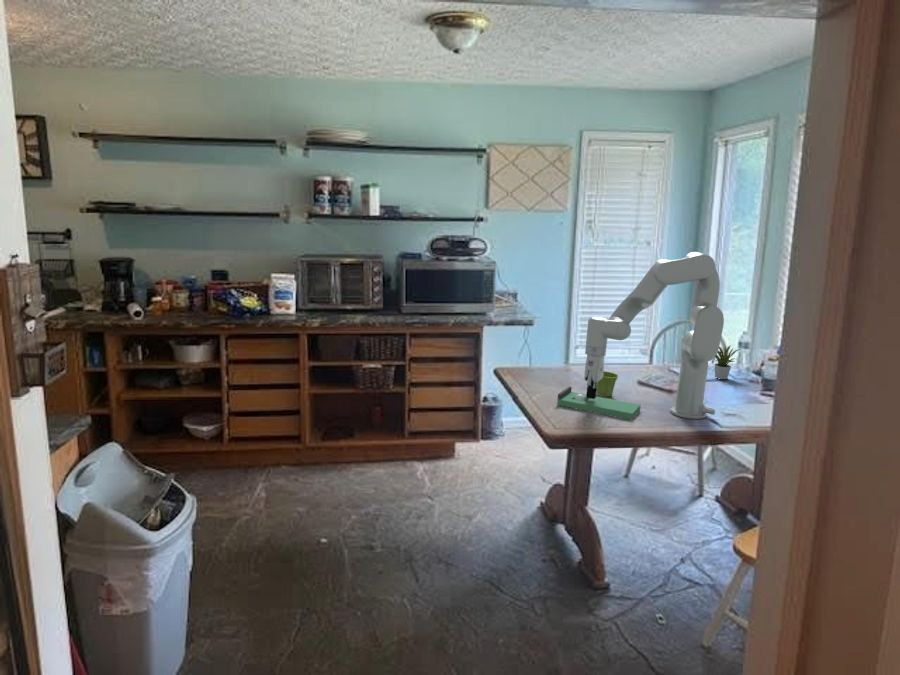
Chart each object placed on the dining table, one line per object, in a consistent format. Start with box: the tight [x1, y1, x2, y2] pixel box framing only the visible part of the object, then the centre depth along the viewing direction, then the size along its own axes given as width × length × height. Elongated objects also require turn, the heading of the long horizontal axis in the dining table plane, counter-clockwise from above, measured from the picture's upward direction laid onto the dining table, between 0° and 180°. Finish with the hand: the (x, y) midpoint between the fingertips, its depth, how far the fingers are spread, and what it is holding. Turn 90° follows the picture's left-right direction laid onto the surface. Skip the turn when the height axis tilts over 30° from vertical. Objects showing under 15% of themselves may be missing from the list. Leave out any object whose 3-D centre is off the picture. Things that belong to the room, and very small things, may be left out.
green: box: [556, 386, 641, 421], centre depth 244 cm, size 28×13×4 cm, turn 61°
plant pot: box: [596, 371, 619, 398], centre depth 262 cm, size 9×9×9 cm
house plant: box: [713, 344, 741, 380], centre depth 298 cm, size 14×14×16 cm
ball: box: [574, 393, 585, 401], centre depth 248 cm, size 4×4×4 cm
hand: (590, 397), depth 246 cm, fingers closed
